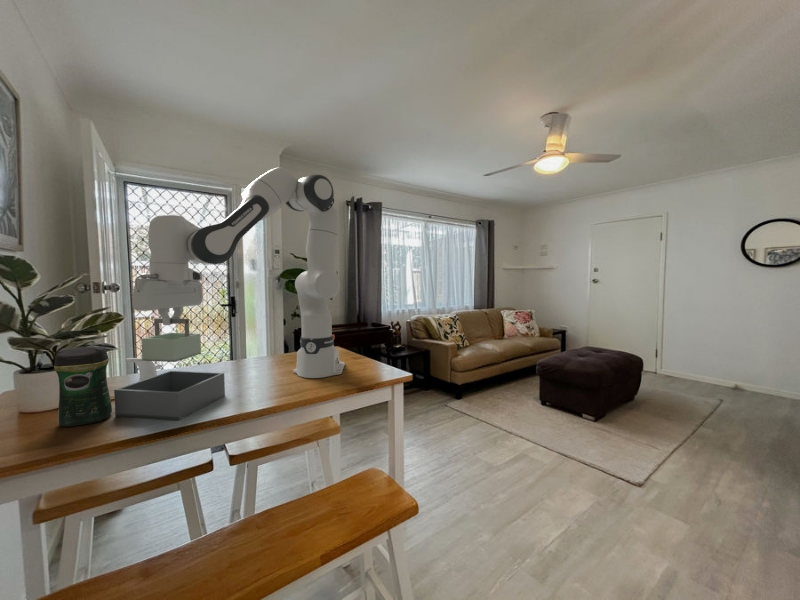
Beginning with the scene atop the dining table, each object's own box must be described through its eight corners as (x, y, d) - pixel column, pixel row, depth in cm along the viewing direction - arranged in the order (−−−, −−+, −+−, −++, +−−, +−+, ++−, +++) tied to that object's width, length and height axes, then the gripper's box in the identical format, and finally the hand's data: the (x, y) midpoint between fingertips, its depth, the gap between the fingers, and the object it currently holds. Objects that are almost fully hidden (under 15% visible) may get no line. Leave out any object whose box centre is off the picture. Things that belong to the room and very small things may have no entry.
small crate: (171, 352, 98) (169, 316, 97) (201, 353, 97) (199, 317, 96) (142, 360, 89) (140, 320, 88) (174, 362, 87) (173, 321, 87)
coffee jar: (115, 411, 89) (112, 342, 88) (105, 422, 82) (101, 348, 81) (67, 417, 85) (63, 345, 84) (52, 430, 78) (47, 352, 77)
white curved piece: (127, 398, 98) (125, 358, 98) (142, 391, 105) (141, 354, 104) (142, 398, 99) (141, 358, 98) (157, 391, 105) (155, 354, 104)
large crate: (171, 392, 104) (170, 370, 103) (224, 395, 101) (224, 373, 101) (115, 416, 86) (114, 389, 85) (178, 420, 84) (177, 393, 83)
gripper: (146, 273, 81) (149, 330, 81) (206, 274, 101) (207, 320, 102) (123, 273, 81) (126, 329, 82) (187, 274, 102) (188, 319, 102)
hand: (171, 324), depth 92 cm, fingers closed on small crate
